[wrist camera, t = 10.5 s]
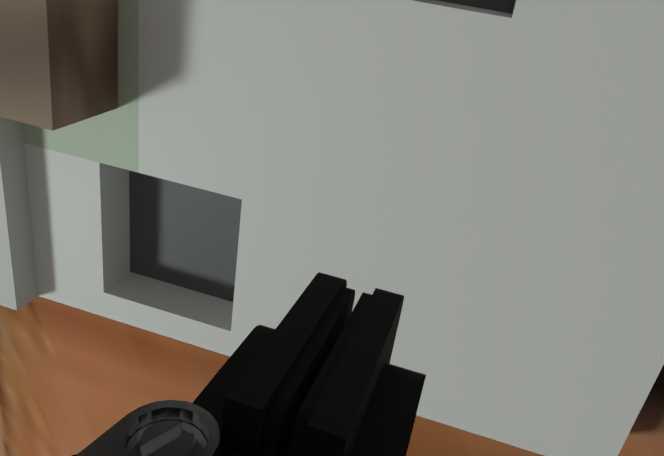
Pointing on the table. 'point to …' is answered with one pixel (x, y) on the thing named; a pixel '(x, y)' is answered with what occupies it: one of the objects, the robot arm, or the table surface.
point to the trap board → (376, 194)
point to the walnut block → (58, 60)
